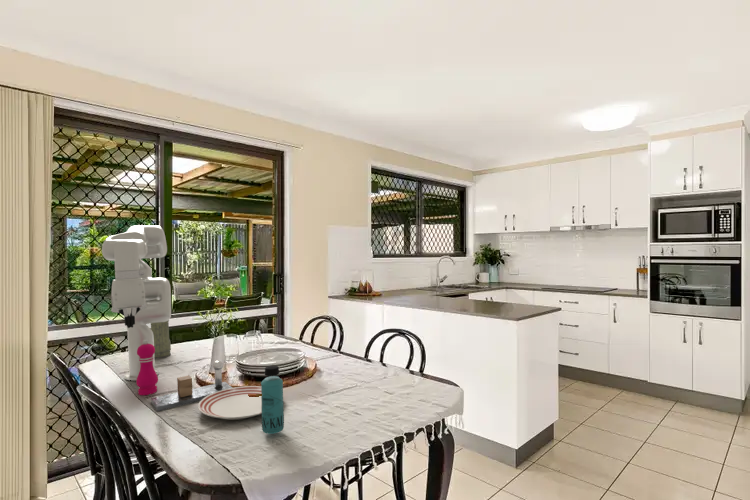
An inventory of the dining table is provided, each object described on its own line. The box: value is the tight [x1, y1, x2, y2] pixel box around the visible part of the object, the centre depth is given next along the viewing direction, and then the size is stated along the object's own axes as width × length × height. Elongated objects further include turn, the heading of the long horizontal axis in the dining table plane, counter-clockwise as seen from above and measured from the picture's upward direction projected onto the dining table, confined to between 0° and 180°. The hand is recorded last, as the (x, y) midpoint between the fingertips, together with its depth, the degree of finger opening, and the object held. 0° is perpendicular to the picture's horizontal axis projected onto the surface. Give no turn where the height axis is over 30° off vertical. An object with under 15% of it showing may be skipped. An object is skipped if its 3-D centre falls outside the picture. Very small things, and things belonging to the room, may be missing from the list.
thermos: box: [146, 300, 172, 359], centre depth 211 cm, size 9×12×35 cm
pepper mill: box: [136, 340, 159, 396], centre depth 161 cm, size 7×7×20 cm
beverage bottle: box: [260, 365, 285, 435], centre depth 125 cm, size 6×7×20 cm
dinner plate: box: [197, 385, 262, 421], centre depth 145 cm, size 27×27×3 cm
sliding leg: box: [176, 375, 193, 397], centre depth 154 cm, size 4×4×6 cm
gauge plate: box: [150, 360, 234, 412], centre depth 155 cm, size 10×26×12 cm, turn 128°
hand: (130, 326), depth 152 cm, fingers closed
